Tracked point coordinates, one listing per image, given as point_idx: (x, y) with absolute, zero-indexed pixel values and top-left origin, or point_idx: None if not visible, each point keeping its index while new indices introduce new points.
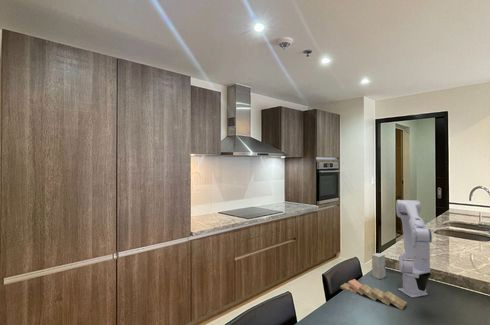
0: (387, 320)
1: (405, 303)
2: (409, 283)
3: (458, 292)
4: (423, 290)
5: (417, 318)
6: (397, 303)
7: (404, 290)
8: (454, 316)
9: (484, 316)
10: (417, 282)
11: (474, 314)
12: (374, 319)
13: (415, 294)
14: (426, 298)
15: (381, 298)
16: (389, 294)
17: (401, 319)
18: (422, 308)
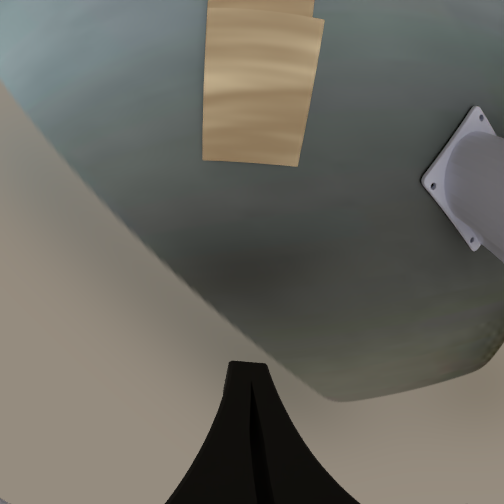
0: (35, 125)
1: (269, 162)
2: (494, 194)
3: (497, 324)
4: (223, 393)
5: (165, 240)
6: (204, 118)
7: (466, 141)
8: (310, 354)
9: (359, 399)
10: (216, 430)
11: (361, 385)
12: (9, 79)
13: (449, 202)
14: (439, 247)
15: (209, 2)
16: (275, 39)
17: (89, 175)
18: (313, 245)
